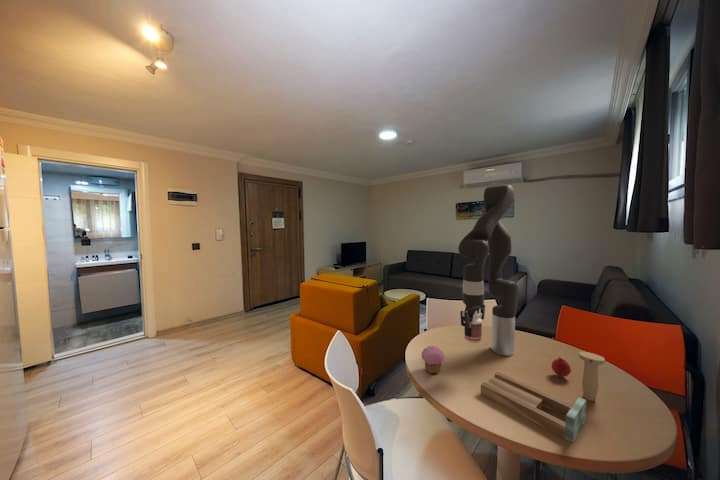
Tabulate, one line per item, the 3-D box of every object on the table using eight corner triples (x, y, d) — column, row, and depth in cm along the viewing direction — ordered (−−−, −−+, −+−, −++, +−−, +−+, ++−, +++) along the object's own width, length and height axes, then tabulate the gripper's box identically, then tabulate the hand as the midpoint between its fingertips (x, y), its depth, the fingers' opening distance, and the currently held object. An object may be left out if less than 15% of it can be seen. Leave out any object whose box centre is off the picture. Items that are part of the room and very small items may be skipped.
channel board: (497, 380, 100) (497, 362, 99) (585, 421, 79) (586, 399, 79) (480, 393, 93) (481, 374, 92) (572, 442, 72) (573, 418, 72)
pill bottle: (485, 340, 102) (485, 313, 101) (475, 345, 99) (475, 317, 97) (470, 334, 107) (470, 308, 106) (461, 339, 104) (461, 312, 103)
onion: (567, 374, 103) (568, 354, 102) (572, 382, 98) (573, 362, 97) (549, 371, 105) (550, 351, 105) (553, 379, 100) (554, 359, 99)
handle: (601, 406, 85) (604, 362, 84) (576, 397, 90) (578, 355, 89) (602, 399, 89) (605, 356, 88) (577, 390, 93) (579, 350, 92)
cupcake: (438, 364, 112) (438, 341, 111) (447, 376, 103) (448, 352, 102) (418, 366, 110) (418, 343, 110) (426, 378, 102) (426, 353, 101)
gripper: (473, 286, 108) (473, 325, 110) (453, 293, 100) (453, 335, 101) (492, 289, 102) (491, 331, 104) (472, 297, 94) (472, 342, 95)
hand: (472, 333), depth 103 cm, fingers closed on pill bottle, 6 cm apart
